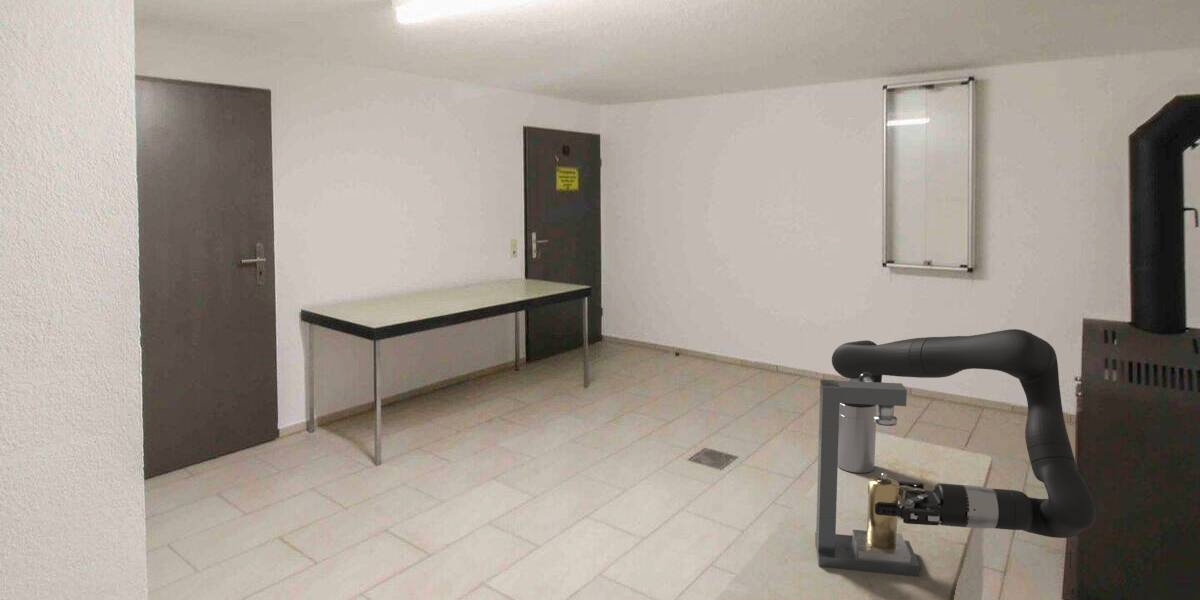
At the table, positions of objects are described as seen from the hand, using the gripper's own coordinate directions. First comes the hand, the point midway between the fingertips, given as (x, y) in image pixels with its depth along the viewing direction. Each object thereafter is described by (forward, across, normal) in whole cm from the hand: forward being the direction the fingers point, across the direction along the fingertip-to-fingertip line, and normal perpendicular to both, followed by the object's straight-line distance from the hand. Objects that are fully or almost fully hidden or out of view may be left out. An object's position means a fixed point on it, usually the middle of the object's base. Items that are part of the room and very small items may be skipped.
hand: (871, 498), depth 130 cm
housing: (-2, 0, +8) cm, 9 cm away
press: (+1, -4, +12) cm, 13 cm away
